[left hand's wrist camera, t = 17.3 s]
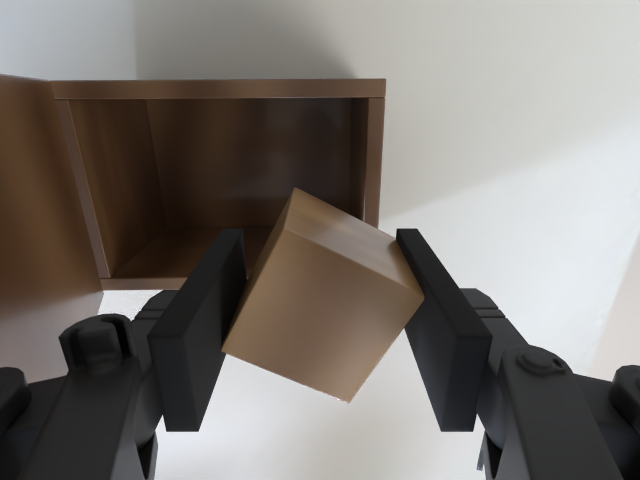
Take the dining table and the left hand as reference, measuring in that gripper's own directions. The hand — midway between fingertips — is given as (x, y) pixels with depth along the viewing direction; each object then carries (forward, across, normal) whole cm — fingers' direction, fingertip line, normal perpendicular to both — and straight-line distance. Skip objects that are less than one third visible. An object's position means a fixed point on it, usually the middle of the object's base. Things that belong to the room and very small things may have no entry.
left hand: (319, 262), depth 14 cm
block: (0, 0, 0) cm, 0 cm away
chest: (+17, +5, -1) cm, 18 cm away
